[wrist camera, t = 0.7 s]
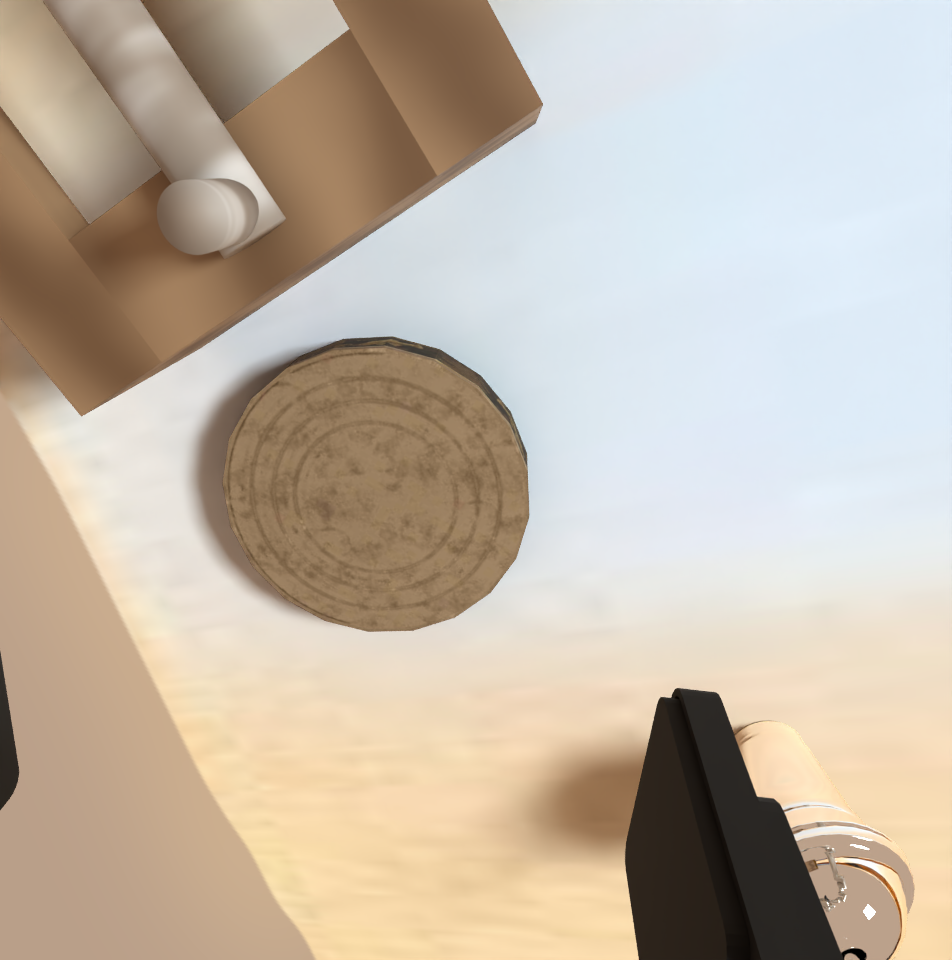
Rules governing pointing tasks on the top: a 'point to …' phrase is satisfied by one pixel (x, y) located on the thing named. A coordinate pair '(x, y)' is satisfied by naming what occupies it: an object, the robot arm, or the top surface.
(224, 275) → the shelf
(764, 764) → the cup with straw
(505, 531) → the brown round disc
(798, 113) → the top surface
